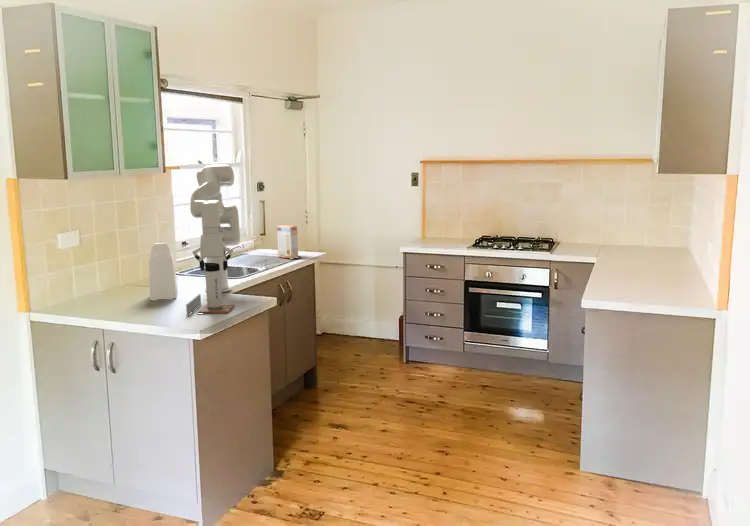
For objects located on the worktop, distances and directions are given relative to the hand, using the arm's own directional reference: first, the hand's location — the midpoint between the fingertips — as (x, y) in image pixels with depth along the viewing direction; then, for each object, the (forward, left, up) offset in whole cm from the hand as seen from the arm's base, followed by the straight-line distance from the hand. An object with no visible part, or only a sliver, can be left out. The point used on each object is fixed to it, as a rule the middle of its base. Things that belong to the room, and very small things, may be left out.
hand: (214, 270), depth 290 cm
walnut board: (0, 0, -18) cm, 18 cm away
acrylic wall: (-1, -10, -18) cm, 20 cm away
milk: (-29, -32, -18) cm, 47 cm away
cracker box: (-138, +13, -18) cm, 140 cm away
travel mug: (0, -1, -17) cm, 17 cm away
